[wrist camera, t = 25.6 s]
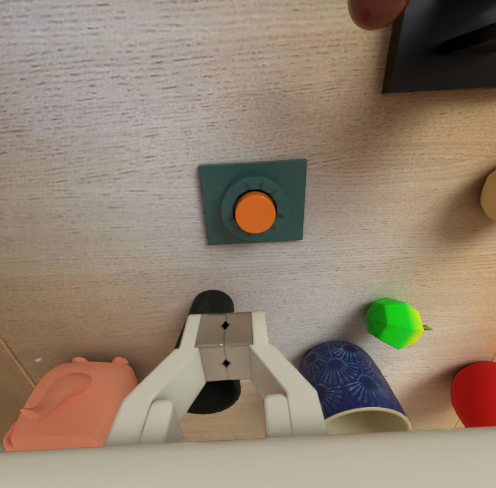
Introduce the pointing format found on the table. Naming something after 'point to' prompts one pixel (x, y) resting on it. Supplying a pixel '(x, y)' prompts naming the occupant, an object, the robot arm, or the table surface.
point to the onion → (489, 196)
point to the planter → (352, 391)
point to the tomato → (475, 394)
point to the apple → (394, 322)
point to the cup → (223, 391)
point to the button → (255, 212)
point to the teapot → (72, 406)
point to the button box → (248, 180)
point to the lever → (375, 12)
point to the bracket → (442, 47)
